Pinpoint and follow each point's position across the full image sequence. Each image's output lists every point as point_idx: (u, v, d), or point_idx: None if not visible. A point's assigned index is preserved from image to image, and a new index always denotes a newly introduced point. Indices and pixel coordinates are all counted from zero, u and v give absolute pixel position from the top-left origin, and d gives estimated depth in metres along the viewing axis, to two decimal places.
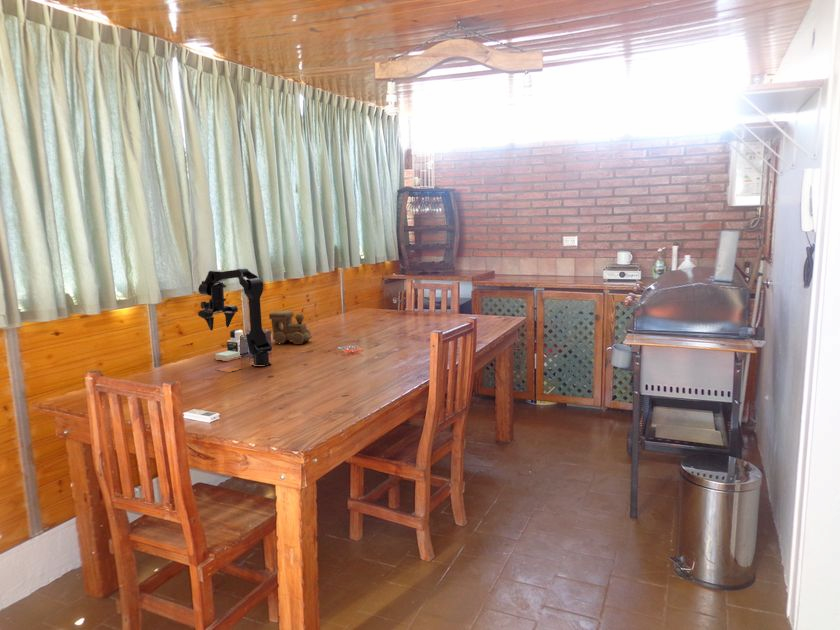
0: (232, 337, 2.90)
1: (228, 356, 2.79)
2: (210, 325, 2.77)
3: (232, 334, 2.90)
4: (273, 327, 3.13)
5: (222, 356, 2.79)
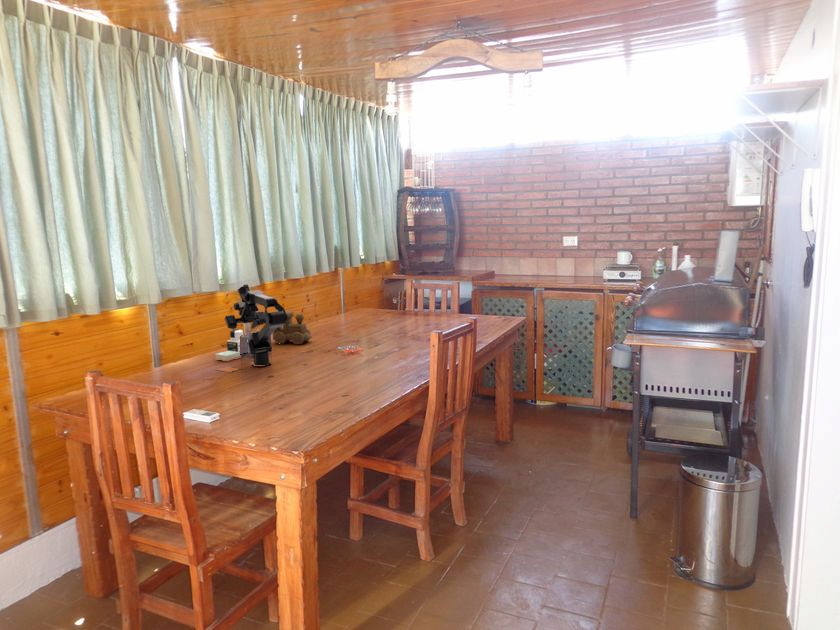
0: (232, 337, 2.90)
1: (228, 356, 2.79)
2: (232, 329, 2.79)
3: (232, 334, 2.90)
4: None
5: (222, 356, 2.79)
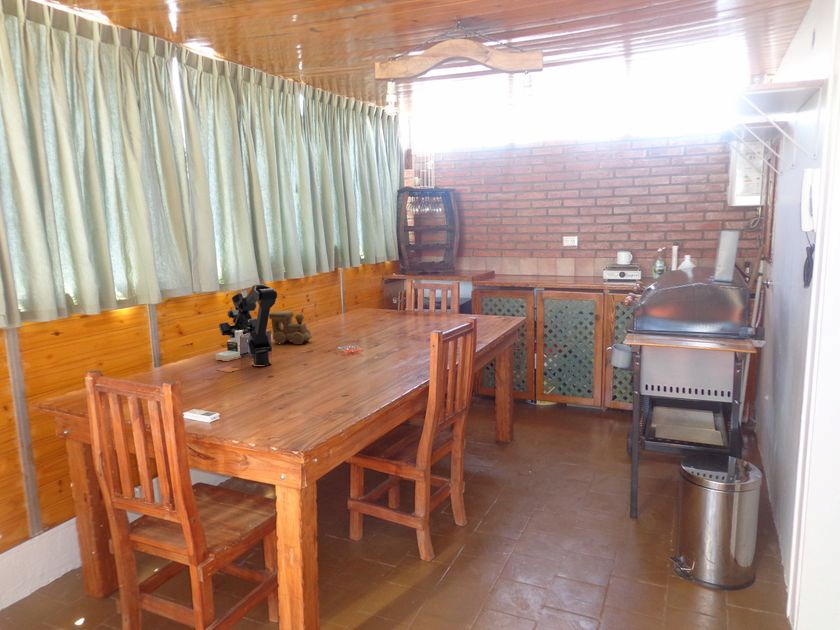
0: (232, 337, 2.90)
1: (228, 356, 2.79)
2: (229, 335, 2.88)
3: None
4: (273, 327, 3.13)
5: (222, 356, 2.79)
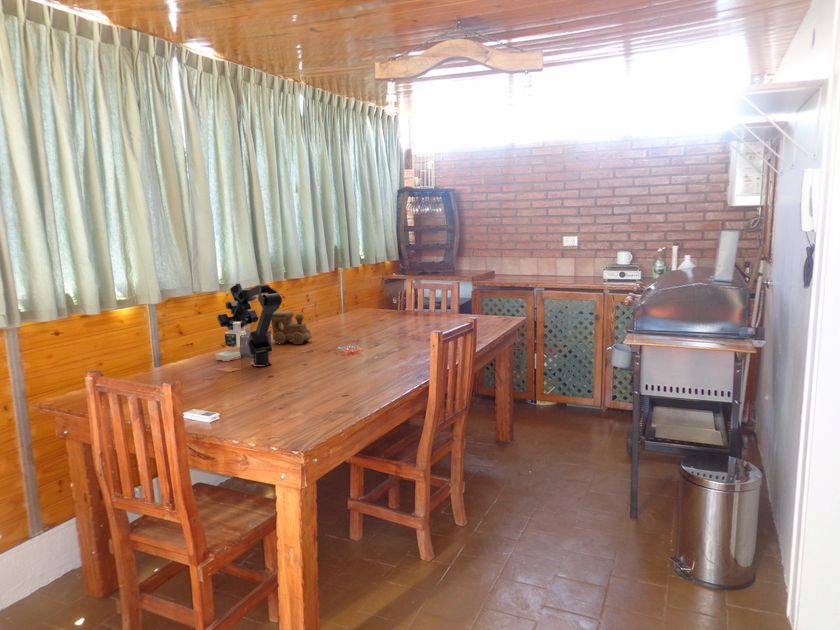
0: (230, 329, 2.86)
1: (228, 356, 2.79)
2: (227, 327, 2.85)
3: None
4: (273, 327, 3.13)
5: (222, 356, 2.79)
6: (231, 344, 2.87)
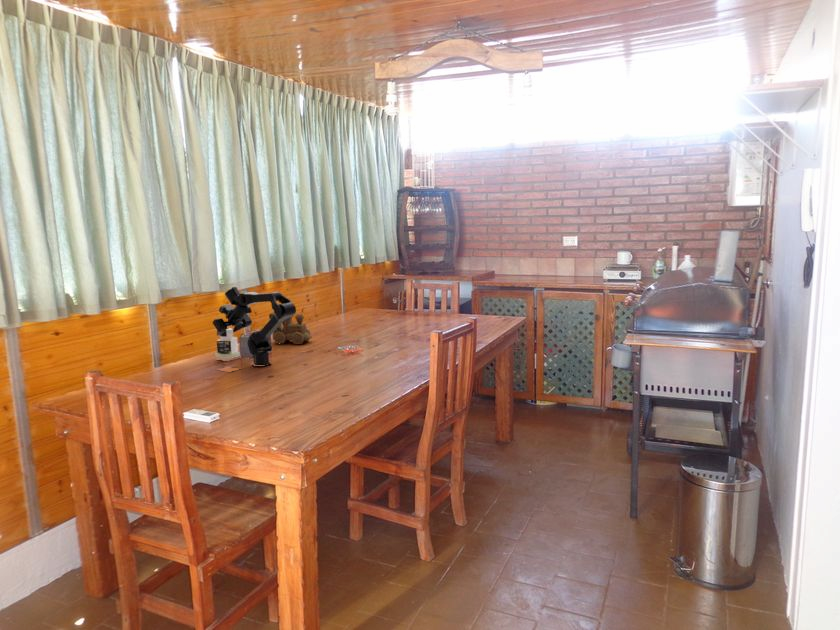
0: (223, 336, 2.79)
1: (228, 356, 2.79)
2: (218, 333, 2.75)
3: (223, 333, 2.78)
4: None
5: (222, 356, 2.79)
6: (225, 352, 2.79)
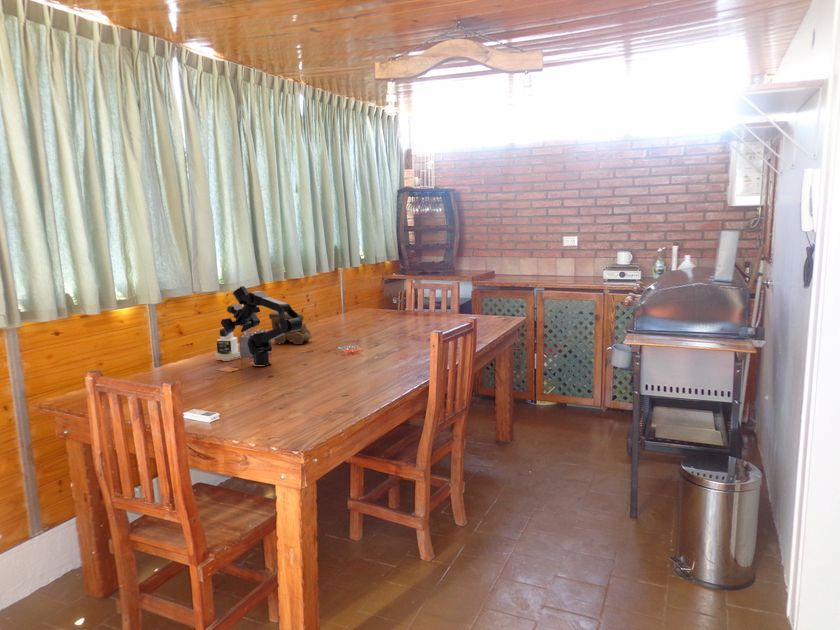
0: (223, 336, 2.79)
1: (228, 356, 2.79)
2: (226, 333, 2.72)
3: (223, 333, 2.78)
4: (273, 327, 3.13)
5: (222, 356, 2.79)
6: (225, 352, 2.79)
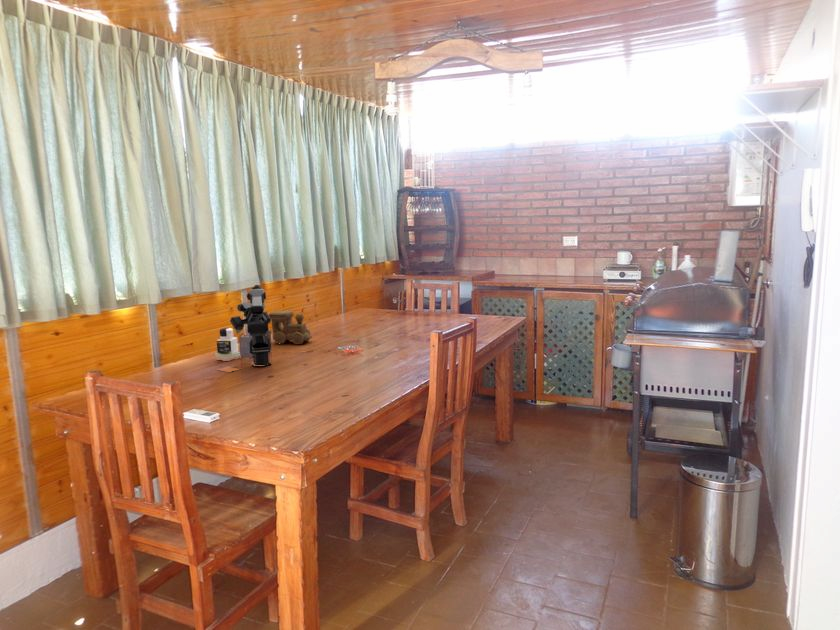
0: (223, 336, 2.79)
1: (228, 356, 2.79)
2: (237, 331, 2.75)
3: (223, 333, 2.78)
4: (273, 327, 3.13)
5: (222, 356, 2.79)
6: (225, 352, 2.79)
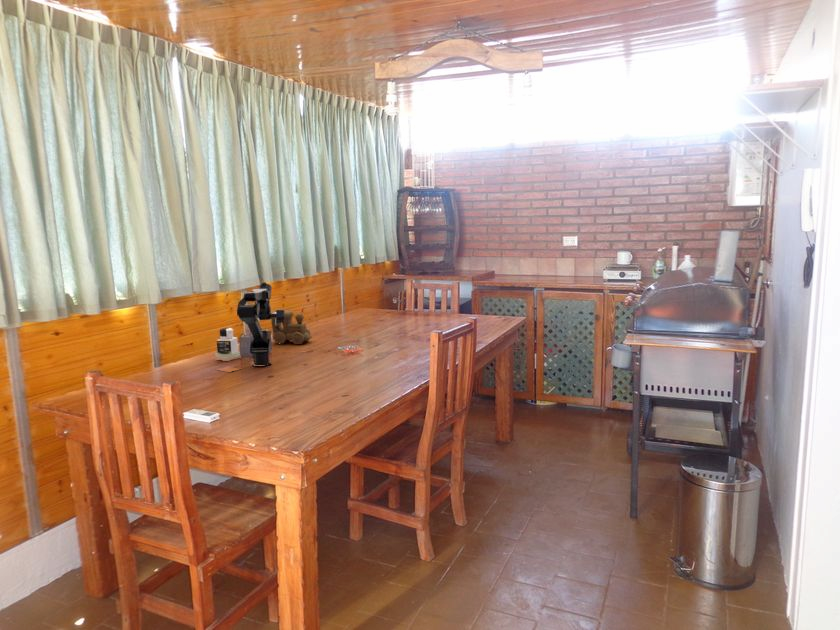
0: (223, 336, 2.79)
1: (228, 356, 2.79)
2: None
3: (223, 333, 2.78)
4: (273, 327, 3.13)
5: (222, 356, 2.79)
6: (225, 352, 2.79)
